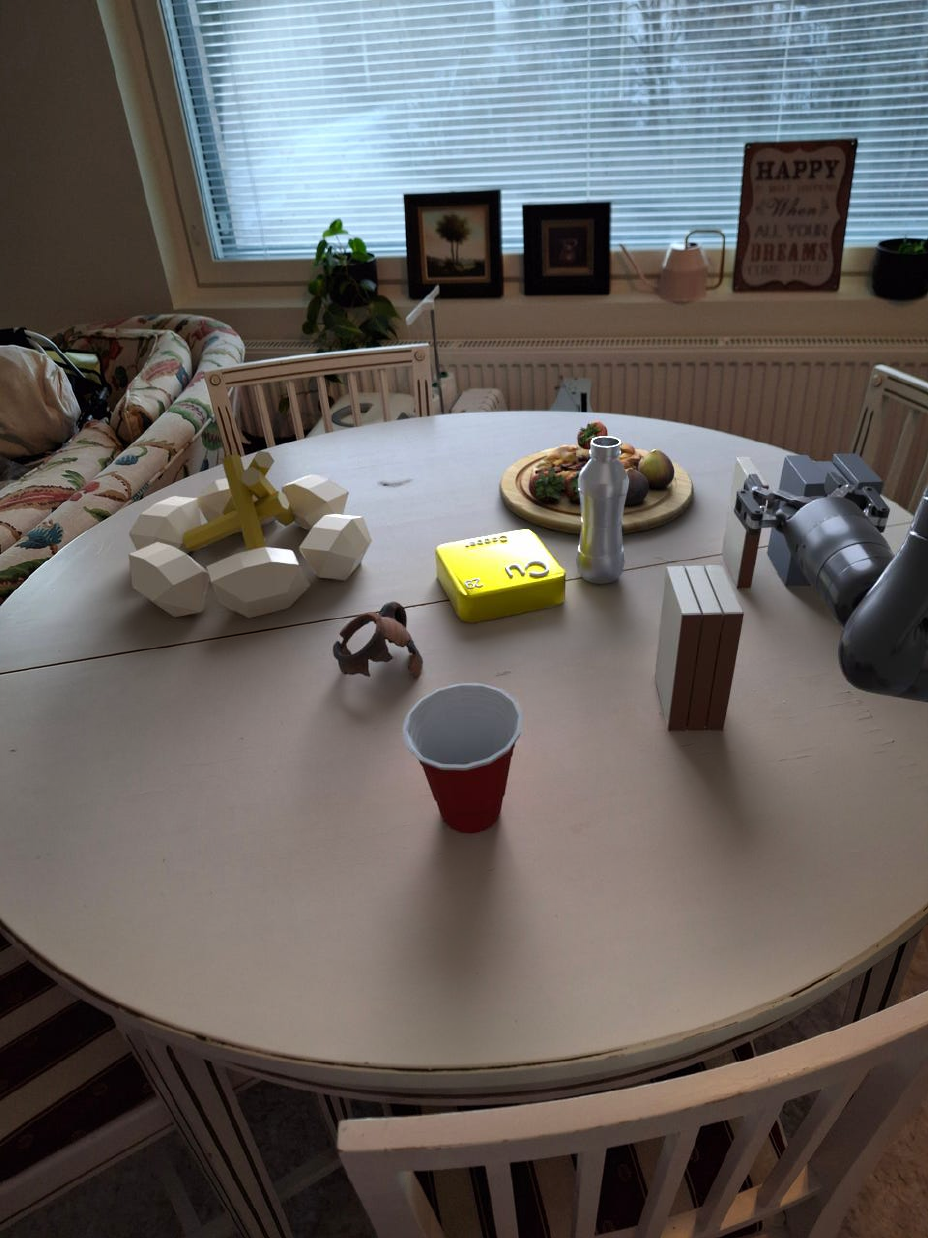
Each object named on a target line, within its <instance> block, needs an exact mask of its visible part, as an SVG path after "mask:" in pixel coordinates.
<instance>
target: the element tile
mask: <svg viewBox="0 0 928 1238" xmlns="http://www.w3.org/2000/svg"><path fill="white" fill-rule="evenodd" d="M434 555H435V566H436V567H435V568H436V576H437V578H438V580H439V583H440V584H441V586H442V589H443V590H444V592H445V594H446V596H447V597H448V600H449V601H450V604H451V605H452V608H453V609H454V612H455V613H456V615H457V618H459V619H460V620H461V621H462V622H465V623H468V624H469V623H471V624H474V623H475V624H476V623H482V622H486V621H492V620H496V619H502V618H505V617H506V618H507V617H510V616H515V615H521V614H525V613H530V612H535V611H539V610H543V609H550V608H554V607H557V606H560V605H562V604H563V603H564V602H565V600H566V579H567V578H566V576H567V575H566V570H565V569H564V568H563V566H562V565H561V564H560V563H559V562H558V560H557V559H556V558H555V557H554V555H553V553H551V551H550V550H549V548H547V546H546V545H545V544H544V543H543V541H542V540H541V538H540V537H539V536H538V535H537V534H536V533H535V532H534V531H531V530H530V529H519V530H512V531H506V532H501V533H496V534H495V533H494V534H491V535H487V536H485V535H484V536H480V537H475V538H469V539H463V540H458V541H453V542H447V543H443V544H440V545H438V546H437V547H436V548H435V550H434Z"/></svg>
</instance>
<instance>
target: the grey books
mask: <svg viewBox="0 0 928 1238" xmlns="http://www.w3.org/2000/svg"><path fill="white" fill-rule="evenodd" d="M828 472H835V473H836V474H837V475H838V476H840V477H842V478H844V480H845V481H846V482H847V483H848V484H851V485H854V486H855V489H857V490H862V488H863V487H865V486H869V487H873V488H875V490H876V491H877V492H878V494H879V495H880V496H881V493H882V490H883V487H884V480H883V479H882V478H881V477H880V476H879V475H878V474H877V472H875V471H874V470H873V469H872V467H870V465H869V464H868V463H867V462H866V461H865V460H864V459H863V458H862V457H861V456H860V455H859V454H858V453H857V452H853V453H851V452H849V453H834V454H833V457H832V461H830V460H824V461H822V460H821V461H813V459H812V458H811V457H810V456H809V455H808V454H793V455H792V454H791V455H790V454H789V455H784V459H783V465H782V469H781V475H780V481H779V486H778V489H780V490H783V491H785V492H788V493H790V494H793V495H796V496H805V497H813V496H824V497H827V496H828V494H827V493H826V492H825V490H824V484H825V480H826V475H827V473H828ZM785 503H786V502H783V501H781V502H780V507H779V509H780V508H781V507H782V506H783V505H784V504H785ZM766 555H767V556H768V558H769V560H770V562H771V563H772V565H773V567H774V569H775V571H776V572H777V574H778V577H779V578H780V580H781V581H782V583H783V585H784V586H785V587H807V586H811V585H810V583H809V582H808V580H807V579H806V577H805V575H804V574H803V572H802V570H801V569H800V567H799V565H798V564H797V562H796V560H795V559H794V557H793V555H792V554H791V552H790V551H789V549H788V546H787V544H786V540H785V537H784V535H783V534H782V533H780V532H778V531H777V530H776V529H775V528H774V527H772V528H770V535H769V539H768V545H767V552H766ZM811 587H812V586H811Z"/></svg>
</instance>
